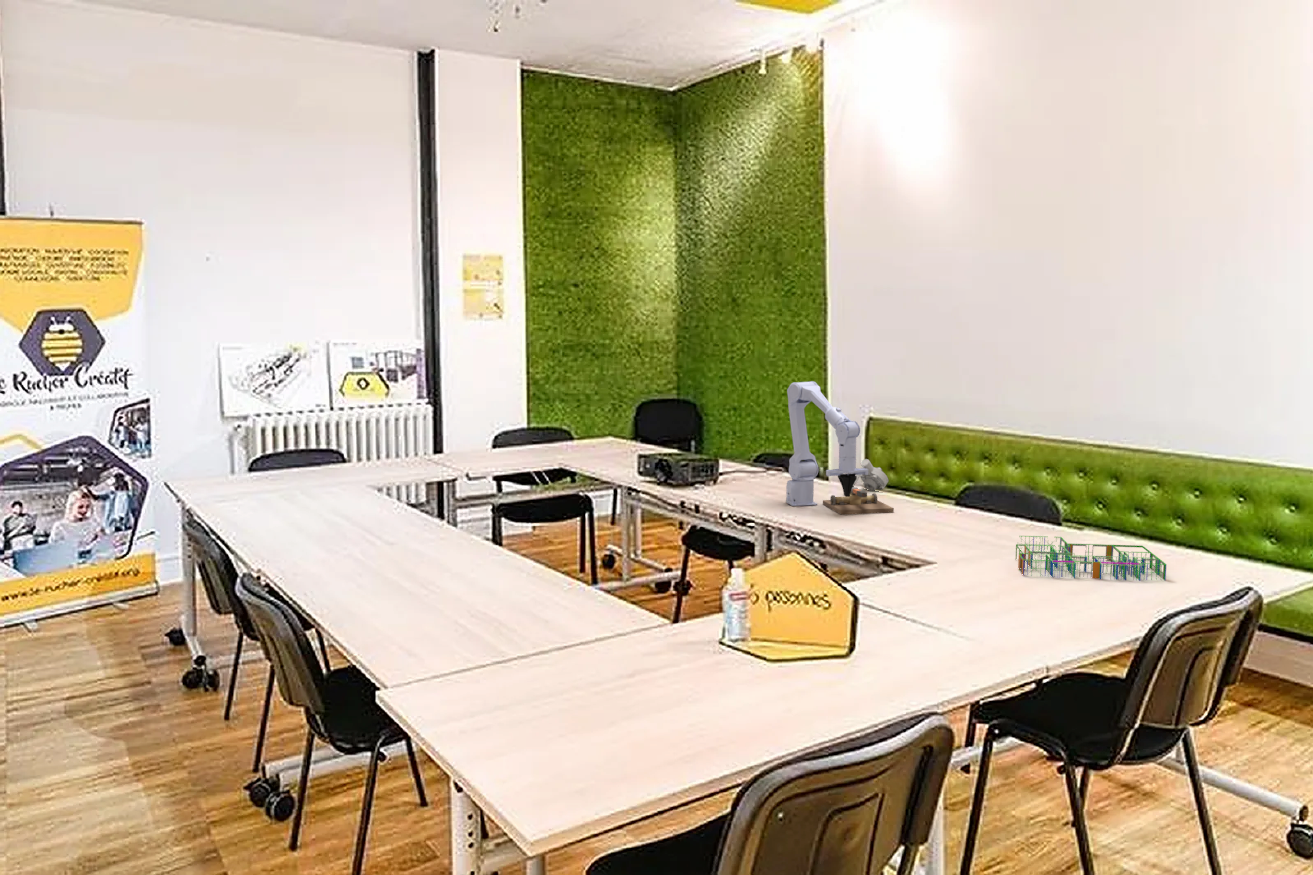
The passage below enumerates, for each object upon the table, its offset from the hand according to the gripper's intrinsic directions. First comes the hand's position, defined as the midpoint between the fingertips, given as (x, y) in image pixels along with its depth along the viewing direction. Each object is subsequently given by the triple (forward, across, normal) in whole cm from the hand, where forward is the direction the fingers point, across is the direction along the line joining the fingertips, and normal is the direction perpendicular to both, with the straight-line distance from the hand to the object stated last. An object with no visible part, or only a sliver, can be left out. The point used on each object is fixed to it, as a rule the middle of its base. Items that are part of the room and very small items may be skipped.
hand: (846, 496), depth 348 cm
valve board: (+6, +7, +7) cm, 12 cm away
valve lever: (0, +6, +4) cm, 7 cm away
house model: (+7, +37, -80) cm, 89 cm away
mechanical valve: (+6, +21, +37) cm, 43 cm away
